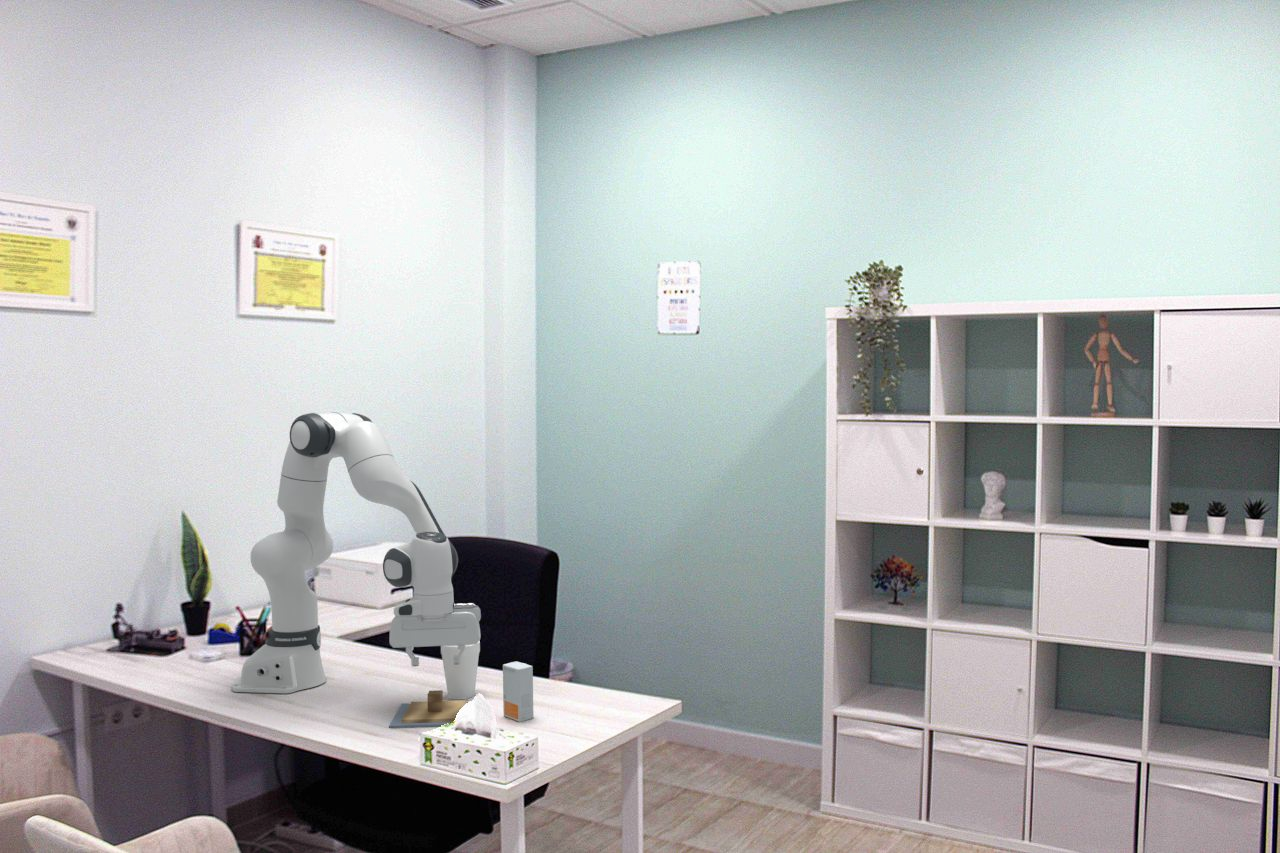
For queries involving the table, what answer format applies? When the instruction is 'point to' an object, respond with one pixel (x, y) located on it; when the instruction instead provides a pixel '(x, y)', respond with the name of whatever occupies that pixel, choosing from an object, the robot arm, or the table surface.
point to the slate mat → (398, 723)
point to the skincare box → (518, 691)
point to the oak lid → (433, 709)
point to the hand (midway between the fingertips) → (436, 664)
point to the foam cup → (461, 670)
